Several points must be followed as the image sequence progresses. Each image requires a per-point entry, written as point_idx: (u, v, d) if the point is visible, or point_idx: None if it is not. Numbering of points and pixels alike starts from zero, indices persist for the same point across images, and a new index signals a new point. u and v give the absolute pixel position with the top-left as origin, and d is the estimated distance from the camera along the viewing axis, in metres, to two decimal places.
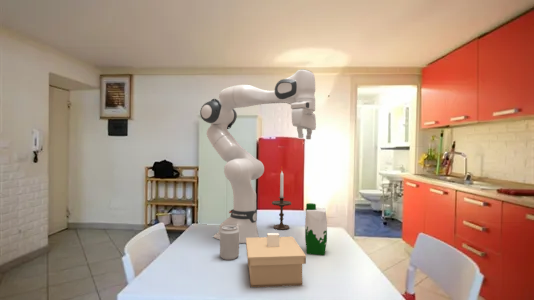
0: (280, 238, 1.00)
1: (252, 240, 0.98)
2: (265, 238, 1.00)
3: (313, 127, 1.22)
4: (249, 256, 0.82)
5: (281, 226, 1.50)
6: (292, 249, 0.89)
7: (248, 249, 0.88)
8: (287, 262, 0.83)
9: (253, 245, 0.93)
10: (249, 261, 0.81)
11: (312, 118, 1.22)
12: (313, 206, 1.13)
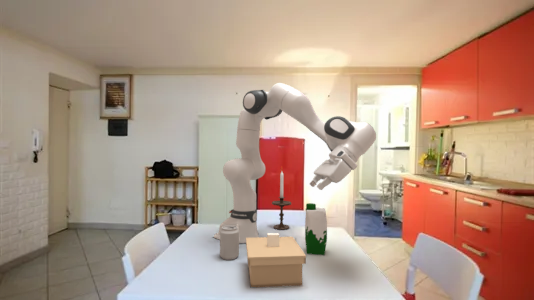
0: (280, 238, 1.00)
1: (252, 240, 0.98)
2: (265, 238, 1.00)
3: None
4: (249, 256, 0.82)
5: (281, 226, 1.50)
6: (292, 249, 0.89)
7: (248, 249, 0.88)
8: (287, 262, 0.83)
9: (253, 245, 0.93)
10: (249, 261, 0.81)
11: None
12: (313, 206, 1.13)
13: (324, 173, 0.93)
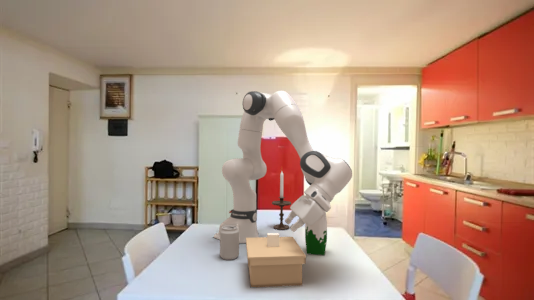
0: (280, 238, 1.00)
1: (252, 240, 0.98)
2: (265, 238, 1.00)
3: None
4: (249, 256, 0.82)
5: (281, 226, 1.50)
6: (292, 249, 0.89)
7: (248, 249, 0.88)
8: (287, 262, 0.83)
9: (253, 245, 0.93)
10: (249, 261, 0.81)
11: None
12: None
13: (298, 213, 0.90)
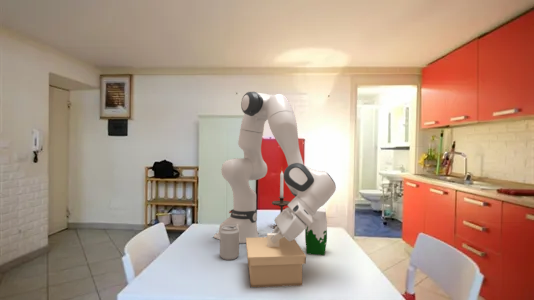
0: None
1: (252, 240, 0.98)
2: (265, 238, 1.00)
3: None
4: (249, 256, 0.82)
5: None
6: (292, 249, 0.89)
7: (248, 249, 0.88)
8: (287, 262, 0.83)
9: (253, 245, 0.93)
10: (249, 261, 0.81)
11: None
12: None
13: (280, 227, 0.89)
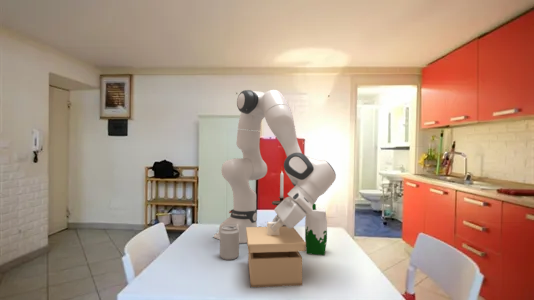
0: (280, 228, 1.00)
1: (252, 229, 0.98)
2: (265, 227, 1.00)
3: None
4: (249, 243, 0.82)
5: None
6: (292, 237, 0.89)
7: (248, 237, 0.88)
8: (287, 249, 0.83)
9: (253, 233, 0.93)
10: (249, 248, 0.81)
11: None
12: (313, 206, 1.13)
13: (280, 215, 0.89)
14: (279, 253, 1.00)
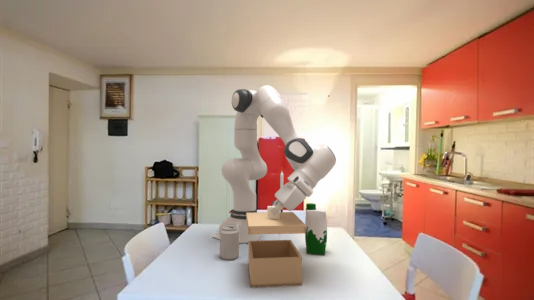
0: (280, 213, 1.01)
1: (252, 214, 0.98)
2: (265, 213, 1.00)
3: None
4: (249, 225, 0.82)
5: None
6: (292, 220, 0.89)
7: (248, 220, 0.88)
8: (287, 231, 0.83)
9: (253, 217, 0.93)
10: (249, 230, 0.81)
11: None
12: (313, 206, 1.13)
13: (280, 199, 0.89)
14: (279, 253, 1.00)
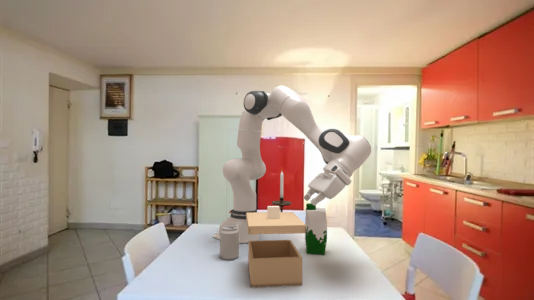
0: (280, 213, 1.01)
1: (252, 214, 0.98)
2: (265, 213, 1.00)
3: None
4: (249, 225, 0.82)
5: None
6: (292, 220, 0.89)
7: (248, 220, 0.88)
8: (287, 231, 0.83)
9: (253, 217, 0.93)
10: (249, 230, 0.81)
11: None
12: (313, 206, 1.13)
13: (318, 188, 0.91)
14: (279, 253, 1.00)
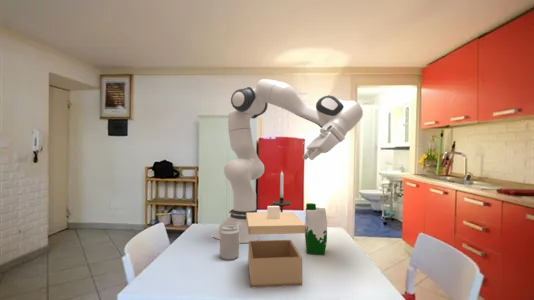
0: (280, 213, 1.01)
1: (252, 214, 0.98)
2: (265, 213, 1.00)
3: None
4: (249, 225, 0.82)
5: None
6: (292, 220, 0.89)
7: (248, 220, 0.88)
8: (287, 231, 0.83)
9: (253, 217, 0.93)
10: (249, 230, 0.81)
11: None
12: (313, 206, 1.13)
13: (315, 145, 1.03)
14: (279, 253, 1.00)
